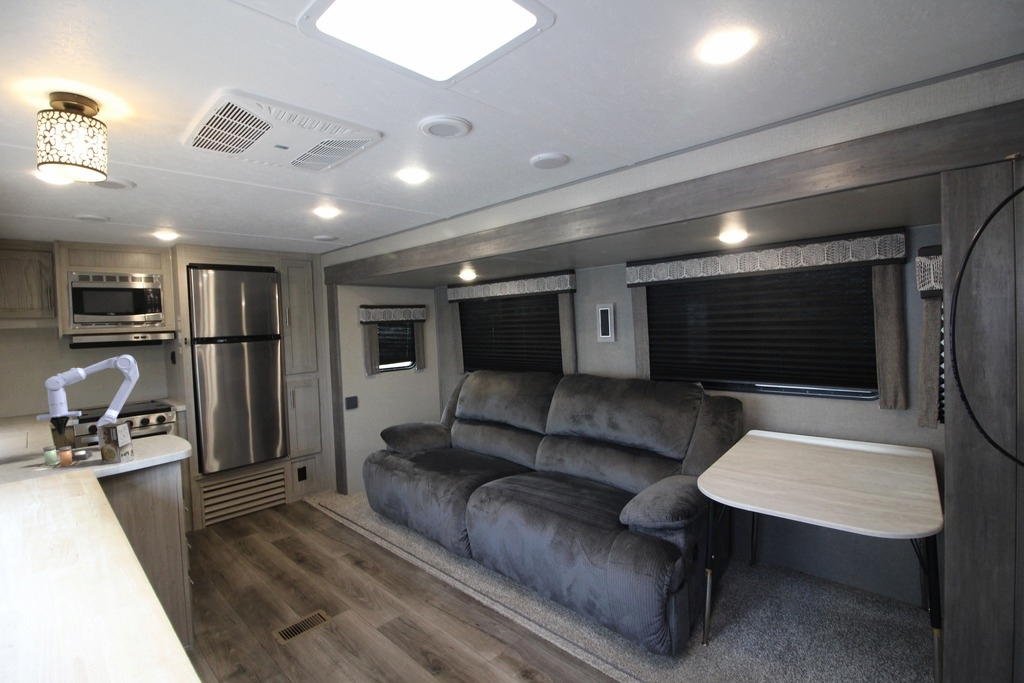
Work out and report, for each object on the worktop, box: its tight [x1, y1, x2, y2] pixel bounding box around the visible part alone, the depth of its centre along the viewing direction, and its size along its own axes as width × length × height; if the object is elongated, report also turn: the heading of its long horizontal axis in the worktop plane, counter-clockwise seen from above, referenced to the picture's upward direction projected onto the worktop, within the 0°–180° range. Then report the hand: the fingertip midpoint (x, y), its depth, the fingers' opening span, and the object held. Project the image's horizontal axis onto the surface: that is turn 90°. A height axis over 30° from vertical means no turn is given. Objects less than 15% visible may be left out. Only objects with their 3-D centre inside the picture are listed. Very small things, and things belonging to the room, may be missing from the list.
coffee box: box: [96, 421, 135, 464], centre depth 200 cm, size 9×6×16 cm
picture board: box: [31, 450, 93, 472], centre depth 199 cm, size 16×13×3 cm
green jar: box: [42, 445, 58, 465], centre depth 199 cm, size 4×4×7 cm
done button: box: [74, 450, 86, 455], centre depth 204 cm, size 3×3×3 cm
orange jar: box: [58, 445, 73, 466], centre depth 197 cm, size 4×4×7 cm
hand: (61, 434), depth 209 cm, fingers closed
